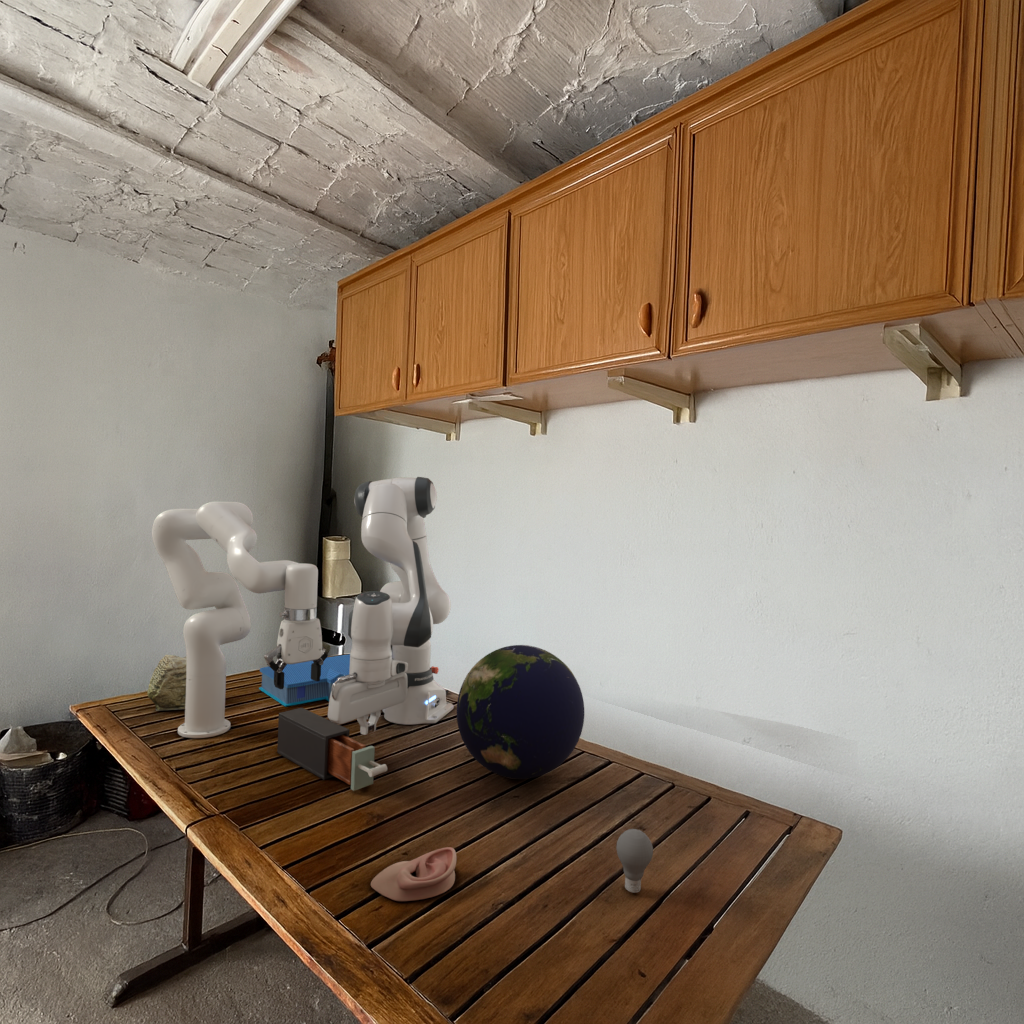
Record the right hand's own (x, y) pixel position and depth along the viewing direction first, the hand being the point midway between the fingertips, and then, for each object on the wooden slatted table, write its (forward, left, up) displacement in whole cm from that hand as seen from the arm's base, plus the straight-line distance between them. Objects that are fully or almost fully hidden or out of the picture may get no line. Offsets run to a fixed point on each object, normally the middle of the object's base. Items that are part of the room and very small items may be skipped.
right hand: (368, 732), depth 136 cm
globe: (-27, +23, -13) cm, 38 cm away
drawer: (-2, -8, -12) cm, 15 cm away
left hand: (-7, -28, +4) cm, 29 cm away
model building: (-51, -58, -13) cm, 78 cm away
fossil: (-13, -80, -13) cm, 82 cm away
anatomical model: (+20, +28, -13) cm, 37 cm away
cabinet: (-5, -21, -13) cm, 25 cm away
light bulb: (+3, +60, -13) cm, 62 cm away
